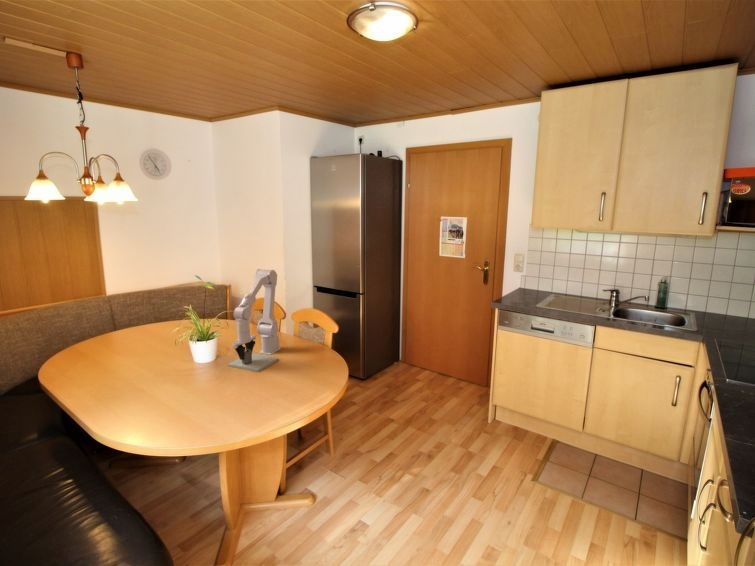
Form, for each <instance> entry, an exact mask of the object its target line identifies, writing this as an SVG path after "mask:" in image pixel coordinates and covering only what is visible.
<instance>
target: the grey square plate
mask: <svg viewBox="0 0 755 566" xmlns="http://www.w3.org/2000/svg"><path fill="white" fill-rule="evenodd" d="M278 360H279V357H277V356H271V355H267V354H261V353H253V352H252V362H250V363H242V360H240V358H239V357H238V358H236V359H235V360H233V361H231V362H229V363H228V364H227V367H230V368H234V369H239V370H240V369H241V370H245V371H251V372H255V373H256V372H257V373H259V372H261V371H263V370H264V369H266V368H267V367H269V366H271V365H272V364H274V363H275V362H278Z"/></svg>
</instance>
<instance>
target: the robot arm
mask: <svg viewBox="0 0 755 566" xmlns="http://www.w3.org/2000/svg"><path fill="white" fill-rule="evenodd" d="M253 278H254V280H253V283H252V284H251V287H250V290H249V292H248V293H245V294H244V296H243V298H242V300H241V301H240V304H239V305H238V306H237V307H235V308H234V310H233V313H232V315H233V318H234V320H235V323H236V330H237V338H236V341H235V342H234V343H232V345H231V346H232V349H234V350H235V352H236V353H237V355H238V359H239V358H240V360H244V352H245V349H250V350H252V352H253V351H254V347H255V345H256V339H257V335H255V334H251V329H250V318H251V317H252V316H251V315H252V311H253V309H252V308H253V306H254V305H255V303H256V300H257V298H256V296H257V294H258V293H259V291H260V290H261V288H262V287H264V298H263V299H264V300H263V309H262V311H263V312H262V317H261V318H260V319H259V320H258V324H257V327H256V331H257V334H258V335H259V337H260V342H261V344H260V345H261V350H259V351H258V353H257V354H261V355H267V356H271V355H273V354H276V353H277V352H278V351H280V350H281V349H282V348H281V347H280V345H281V344H280V337H279V335H278V331H279V327H278V326H279V325H278V321H277V320H276V319H275V318H274V311H275V298H276V286H277V283H278V282H277V281H278V274H277V272H276V271H275V269H260V268H258V269H257V270H256V271H255V272H254V275H253ZM243 345H244V346H243Z"/></svg>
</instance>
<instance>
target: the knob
mask: <svg viewBox="0 0 755 566" xmlns="http://www.w3.org/2000/svg"><path fill="white" fill-rule="evenodd" d="M252 353H253V351H252V350H250V349H246V348H245V352H244V360H242V363H250V362H252Z"/></svg>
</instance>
